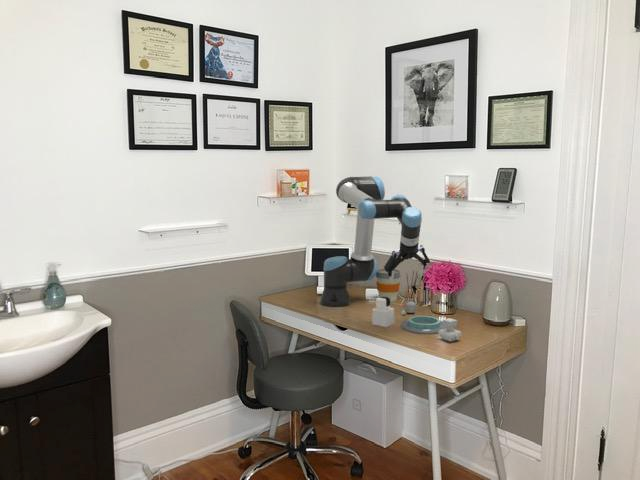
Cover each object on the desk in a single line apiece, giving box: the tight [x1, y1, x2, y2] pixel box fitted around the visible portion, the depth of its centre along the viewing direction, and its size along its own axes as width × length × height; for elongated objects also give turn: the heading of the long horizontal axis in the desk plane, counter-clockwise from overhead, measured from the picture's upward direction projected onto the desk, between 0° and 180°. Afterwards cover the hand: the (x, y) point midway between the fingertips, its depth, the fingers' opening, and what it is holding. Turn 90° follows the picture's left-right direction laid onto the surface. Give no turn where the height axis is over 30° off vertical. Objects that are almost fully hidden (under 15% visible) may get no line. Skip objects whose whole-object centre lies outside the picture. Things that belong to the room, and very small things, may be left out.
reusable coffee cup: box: [375, 268, 401, 303], centre depth 279 cm, size 13×13×15 cm
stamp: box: [437, 317, 463, 342], centre depth 215 cm, size 9×7×8 cm
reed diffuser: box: [400, 270, 419, 316], centre depth 252 cm, size 10×7×20 cm
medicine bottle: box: [371, 296, 395, 328], centre depth 236 cm, size 7×7×12 cm
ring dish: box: [400, 315, 447, 335], centre depth 232 cm, size 20×20×3 cm
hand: (405, 277), depth 237 cm, fingers open, 13 cm apart
